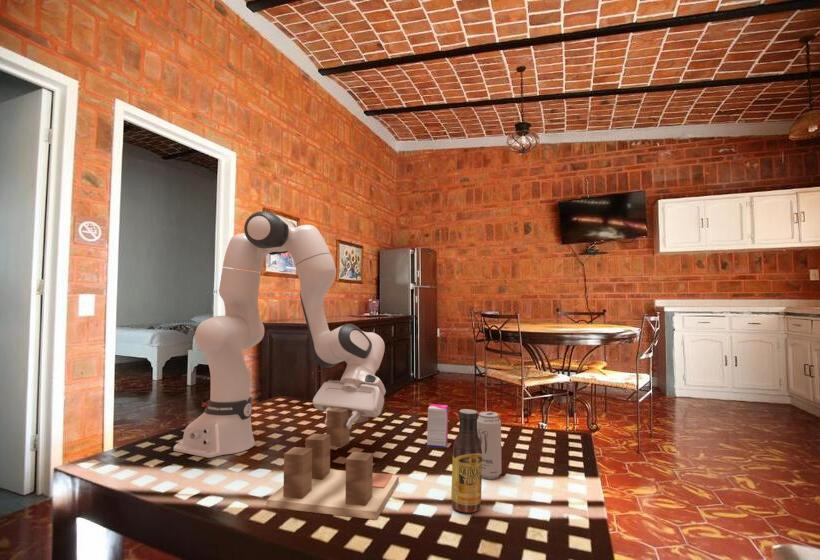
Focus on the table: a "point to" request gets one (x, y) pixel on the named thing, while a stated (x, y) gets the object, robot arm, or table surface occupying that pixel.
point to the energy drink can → (490, 443)
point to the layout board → (331, 482)
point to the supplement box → (437, 426)
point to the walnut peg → (338, 426)
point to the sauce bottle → (467, 464)
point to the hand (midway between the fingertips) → (337, 426)
